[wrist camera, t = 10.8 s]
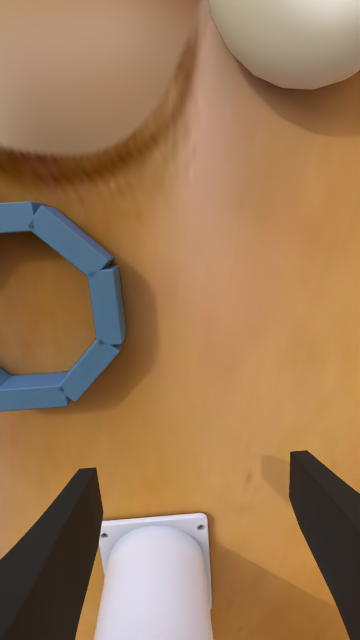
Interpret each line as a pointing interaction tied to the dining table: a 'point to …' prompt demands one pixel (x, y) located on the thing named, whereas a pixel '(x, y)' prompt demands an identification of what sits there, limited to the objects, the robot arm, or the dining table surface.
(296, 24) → the donut
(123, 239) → the dining table surface
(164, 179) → the dining table surface
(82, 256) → the ring
